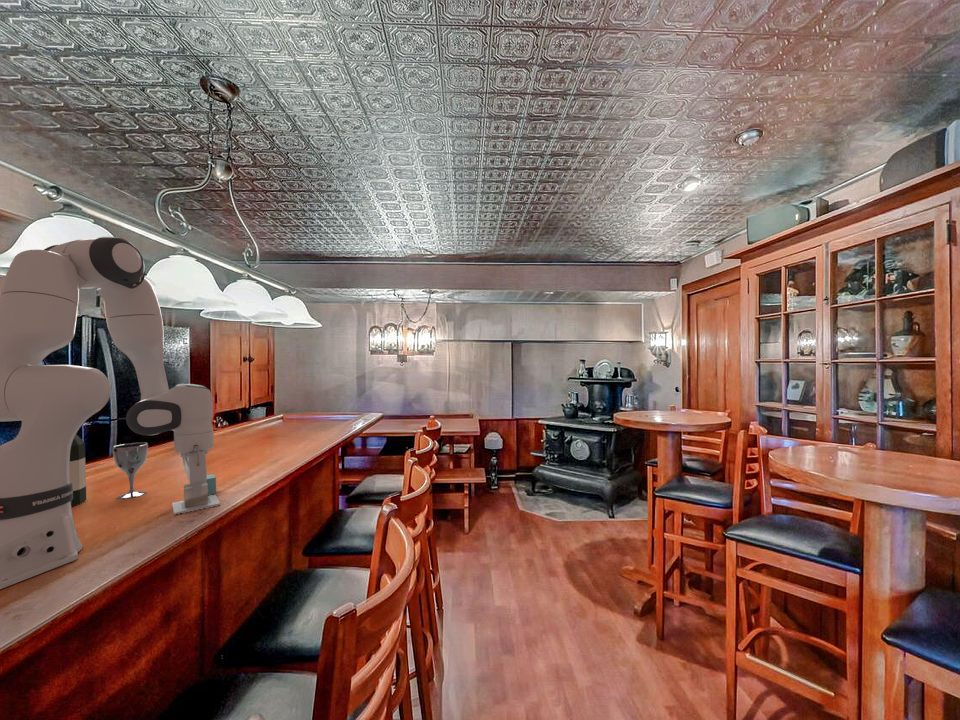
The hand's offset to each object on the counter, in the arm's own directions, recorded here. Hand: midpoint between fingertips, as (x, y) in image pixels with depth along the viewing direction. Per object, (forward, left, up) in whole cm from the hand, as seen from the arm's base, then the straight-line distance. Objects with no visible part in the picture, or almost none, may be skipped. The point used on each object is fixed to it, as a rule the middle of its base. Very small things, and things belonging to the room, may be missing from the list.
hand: (195, 493), depth 109 cm
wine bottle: (0, +39, -4) cm, 39 cm away
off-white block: (0, 0, -3) cm, 3 cm away
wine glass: (+8, +27, -4) cm, 28 cm away
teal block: (+9, +5, -3) cm, 11 cm away
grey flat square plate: (0, 0, -3) cm, 3 cm away
